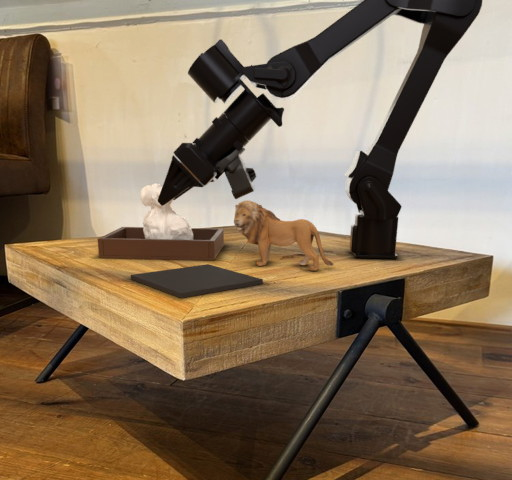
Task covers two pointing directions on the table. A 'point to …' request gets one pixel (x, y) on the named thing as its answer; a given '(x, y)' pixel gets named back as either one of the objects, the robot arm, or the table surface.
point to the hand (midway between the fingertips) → (166, 200)
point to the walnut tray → (161, 245)
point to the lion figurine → (277, 233)
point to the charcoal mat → (195, 280)
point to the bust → (162, 218)
